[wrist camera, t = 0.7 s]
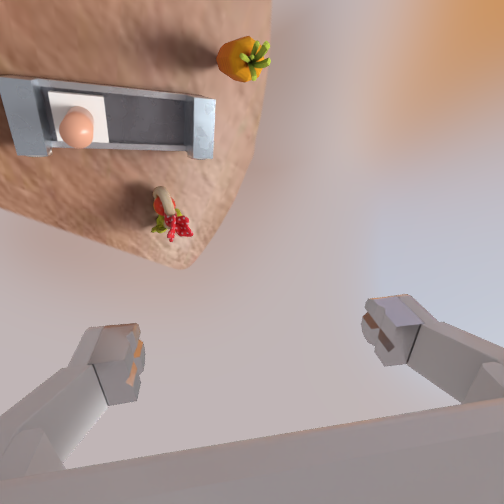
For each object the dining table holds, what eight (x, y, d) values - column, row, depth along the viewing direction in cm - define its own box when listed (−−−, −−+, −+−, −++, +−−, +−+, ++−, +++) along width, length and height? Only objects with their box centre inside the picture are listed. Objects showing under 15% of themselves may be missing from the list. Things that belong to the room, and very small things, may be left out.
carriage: (50, 90, 37) (33, 99, 27) (103, 95, 39) (105, 105, 30) (59, 136, 40) (47, 160, 30) (108, 138, 42) (112, 161, 32)
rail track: (10, 74, 36) (-6, 76, 30) (201, 95, 46) (216, 99, 40) (28, 146, 40) (17, 159, 34) (199, 150, 50) (213, 162, 44)
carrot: (219, 86, 46) (260, 94, 35) (198, 57, 43) (235, 54, 32) (241, 63, 46) (290, 63, 35) (221, 32, 43) (267, 20, 31)
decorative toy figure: (137, 194, 52) (155, 242, 54) (134, 190, 41) (157, 250, 43) (171, 185, 53) (188, 231, 55) (177, 178, 43) (197, 236, 45)
